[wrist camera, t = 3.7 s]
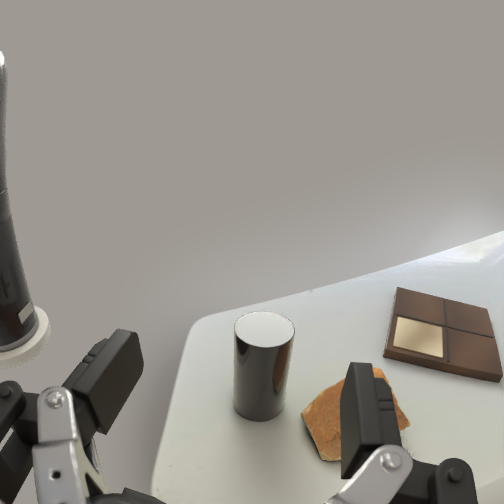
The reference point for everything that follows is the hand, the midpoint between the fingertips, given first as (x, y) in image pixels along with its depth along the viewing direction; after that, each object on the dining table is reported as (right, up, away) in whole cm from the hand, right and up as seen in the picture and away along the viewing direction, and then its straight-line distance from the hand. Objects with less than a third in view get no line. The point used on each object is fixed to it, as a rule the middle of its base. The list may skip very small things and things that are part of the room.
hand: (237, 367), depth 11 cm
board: (+26, -7, +26) cm, 37 cm away
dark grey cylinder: (+1, -10, +17) cm, 19 cm away
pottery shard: (+10, -11, +15) cm, 21 cm away
